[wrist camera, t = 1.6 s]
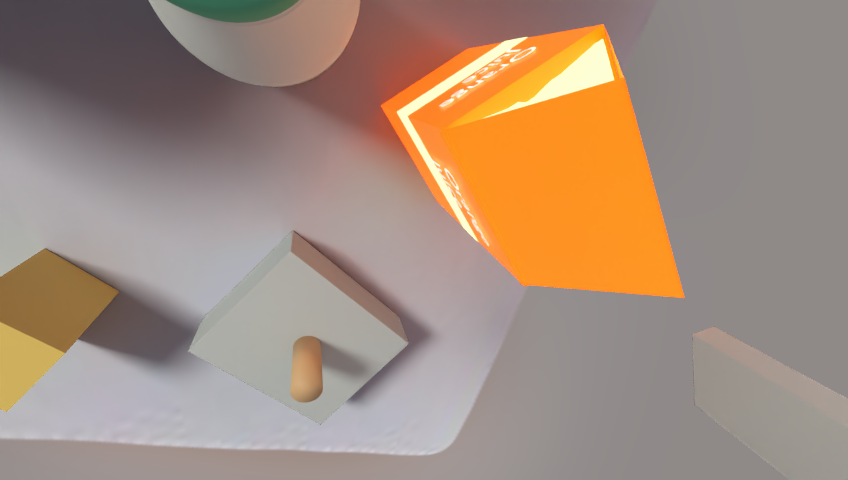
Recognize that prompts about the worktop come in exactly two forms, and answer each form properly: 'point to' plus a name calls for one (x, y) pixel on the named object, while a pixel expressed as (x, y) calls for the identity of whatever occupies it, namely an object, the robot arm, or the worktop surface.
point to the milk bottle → (262, 36)
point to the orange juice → (542, 162)
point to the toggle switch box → (300, 331)
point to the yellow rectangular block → (43, 318)
